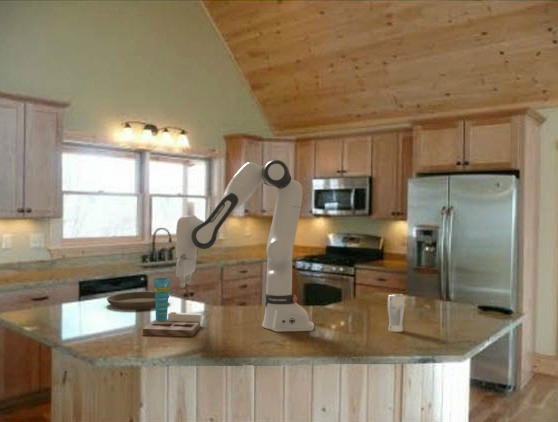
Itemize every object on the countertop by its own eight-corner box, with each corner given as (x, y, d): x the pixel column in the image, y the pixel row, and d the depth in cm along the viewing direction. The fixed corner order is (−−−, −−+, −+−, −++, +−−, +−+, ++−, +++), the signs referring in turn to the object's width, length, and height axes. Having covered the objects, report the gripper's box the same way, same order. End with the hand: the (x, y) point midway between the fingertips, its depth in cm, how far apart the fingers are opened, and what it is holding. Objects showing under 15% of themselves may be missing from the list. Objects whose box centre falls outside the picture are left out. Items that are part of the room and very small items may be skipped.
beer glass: (394, 333, 197) (395, 297, 197) (383, 329, 203) (384, 294, 203) (407, 331, 200) (408, 296, 200) (396, 327, 207) (396, 293, 207)
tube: (155, 322, 210) (155, 278, 209) (151, 319, 214) (152, 277, 213) (171, 320, 214) (172, 277, 214) (167, 317, 218) (168, 276, 218)
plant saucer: (97, 303, 247) (97, 295, 247) (151, 296, 268) (151, 288, 268) (123, 314, 225) (123, 304, 224) (180, 305, 246) (180, 297, 246)
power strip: (201, 325, 205) (202, 312, 205) (200, 327, 202) (200, 314, 202) (170, 324, 206) (170, 311, 206) (168, 326, 203) (168, 313, 203)
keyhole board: (200, 327, 201) (200, 321, 201) (192, 336, 188) (192, 330, 187) (153, 326, 203) (153, 320, 203) (142, 334, 189) (142, 328, 189)
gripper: (187, 255, 193) (186, 289, 193) (198, 251, 214) (198, 281, 214) (172, 255, 193) (171, 289, 194) (184, 250, 214) (184, 281, 214)
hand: (185, 285), depth 204 cm, fingers open, 8 cm apart
